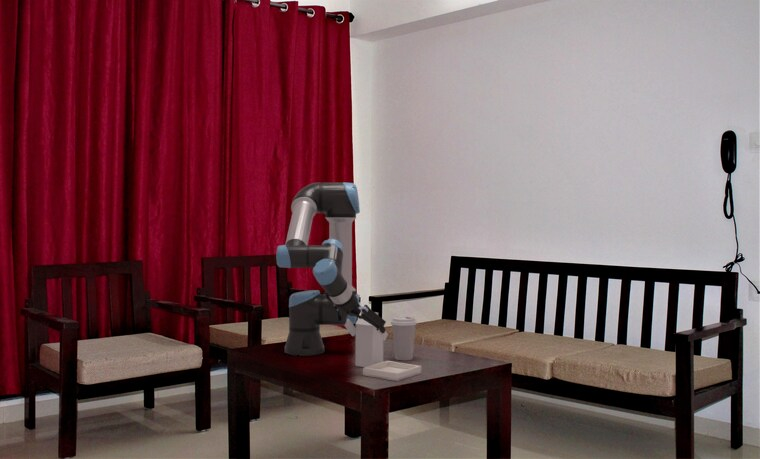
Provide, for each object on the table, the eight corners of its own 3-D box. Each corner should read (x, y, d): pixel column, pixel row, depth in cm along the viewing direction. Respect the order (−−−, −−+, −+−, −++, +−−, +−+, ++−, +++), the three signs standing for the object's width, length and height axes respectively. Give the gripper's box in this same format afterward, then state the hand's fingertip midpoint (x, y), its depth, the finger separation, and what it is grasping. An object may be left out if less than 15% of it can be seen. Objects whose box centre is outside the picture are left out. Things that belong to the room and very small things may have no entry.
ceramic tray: (362, 375, 246) (362, 367, 246) (387, 367, 257) (387, 360, 257) (397, 381, 238) (397, 373, 238) (421, 373, 249) (421, 365, 249)
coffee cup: (414, 361, 267) (414, 320, 266) (388, 360, 269) (388, 319, 268) (418, 356, 276) (418, 316, 276) (393, 355, 278) (393, 315, 278)
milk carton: (372, 368, 256) (372, 313, 255) (355, 366, 259) (355, 312, 259) (383, 365, 262) (383, 311, 261) (366, 362, 265) (366, 309, 265)
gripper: (309, 302, 252) (337, 339, 265) (368, 308, 238) (394, 348, 250) (319, 285, 256) (346, 323, 269) (377, 290, 242) (403, 330, 254)
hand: (370, 335), depth 260 cm, fingers open, 13 cm apart
